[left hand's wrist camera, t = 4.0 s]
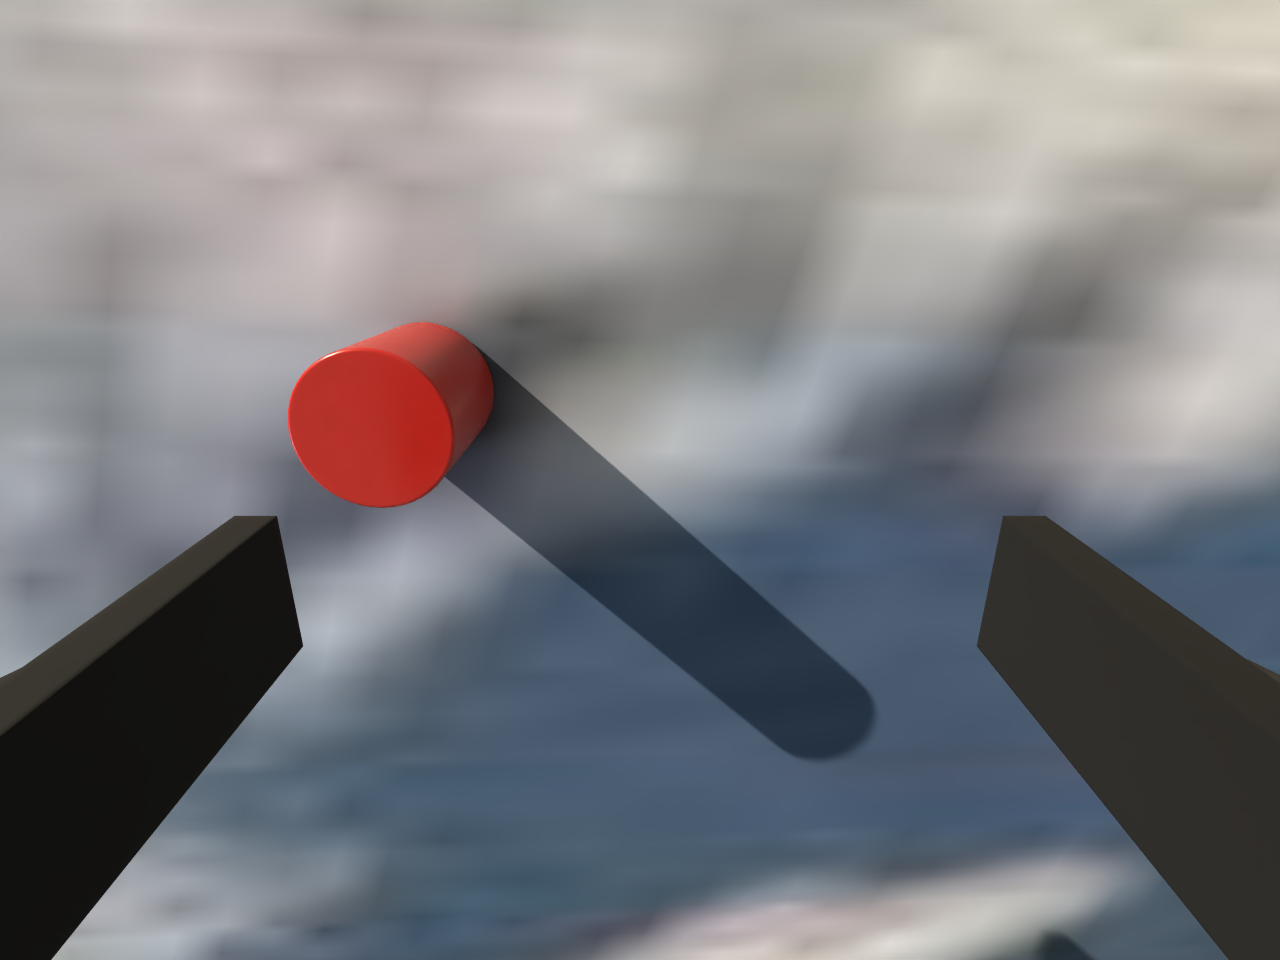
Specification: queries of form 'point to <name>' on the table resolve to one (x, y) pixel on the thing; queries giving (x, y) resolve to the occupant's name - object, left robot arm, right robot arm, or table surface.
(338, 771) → the table surface
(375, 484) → the canister
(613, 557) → the table surface
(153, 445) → the table surface
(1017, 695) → the left robot arm
